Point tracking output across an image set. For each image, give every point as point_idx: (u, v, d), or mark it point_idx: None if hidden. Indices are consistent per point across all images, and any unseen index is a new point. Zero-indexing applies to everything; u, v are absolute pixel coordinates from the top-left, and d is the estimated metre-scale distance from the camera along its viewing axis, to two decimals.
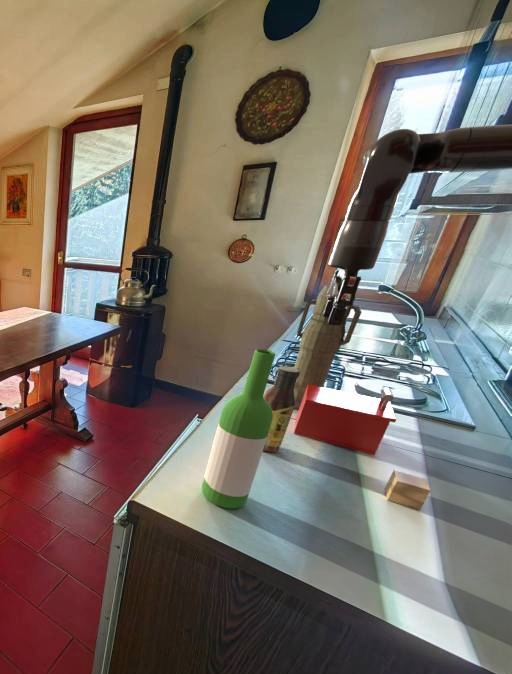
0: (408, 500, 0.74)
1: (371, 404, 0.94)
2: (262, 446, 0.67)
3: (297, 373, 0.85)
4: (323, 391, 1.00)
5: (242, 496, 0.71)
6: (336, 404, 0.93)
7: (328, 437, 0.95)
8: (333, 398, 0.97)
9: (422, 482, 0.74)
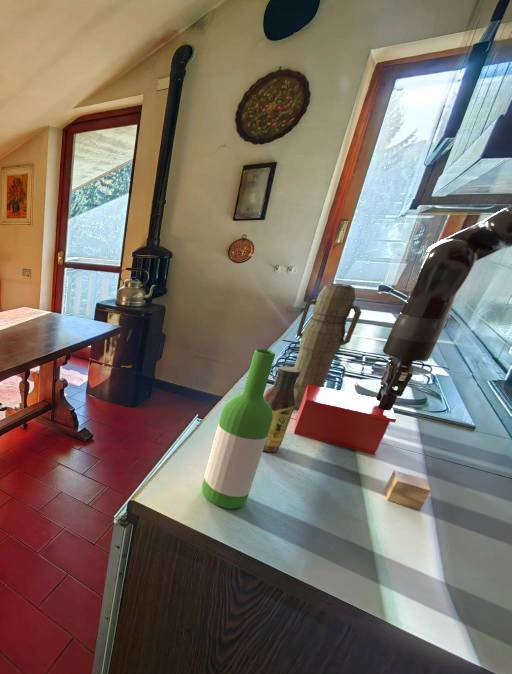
0: (408, 500, 0.74)
1: (371, 404, 0.94)
2: (262, 446, 0.67)
3: (297, 373, 0.85)
4: (323, 391, 1.00)
5: (242, 496, 0.71)
6: (336, 404, 0.93)
7: (328, 437, 0.95)
8: (333, 398, 0.97)
9: (422, 482, 0.74)
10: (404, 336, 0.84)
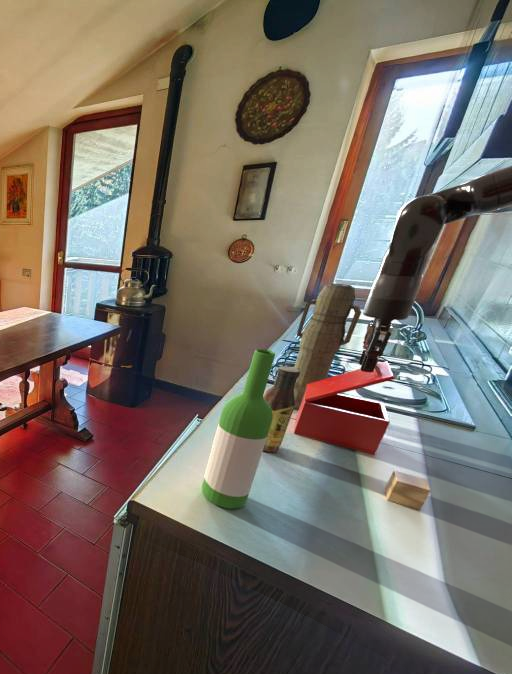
0: (408, 500, 0.74)
1: (368, 373, 0.92)
2: (262, 446, 0.67)
3: (297, 373, 0.85)
4: (321, 383, 1.00)
5: (242, 496, 0.71)
6: (334, 389, 0.93)
7: (328, 437, 0.95)
8: (331, 385, 0.96)
9: (422, 482, 0.74)
10: (382, 295, 0.84)
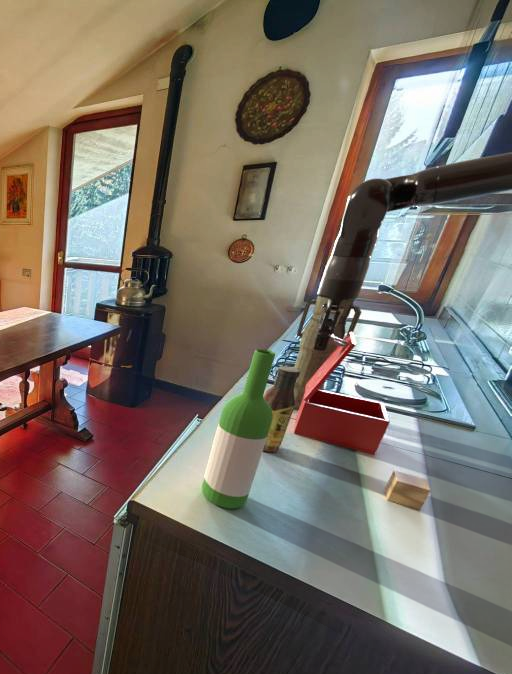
0: (408, 500, 0.74)
1: (339, 350, 0.94)
2: (262, 446, 0.67)
3: (297, 373, 0.85)
4: (313, 378, 1.01)
5: (242, 496, 0.71)
6: (320, 379, 0.94)
7: (328, 437, 0.95)
8: (319, 375, 0.97)
9: (422, 482, 0.74)
10: (333, 276, 0.88)
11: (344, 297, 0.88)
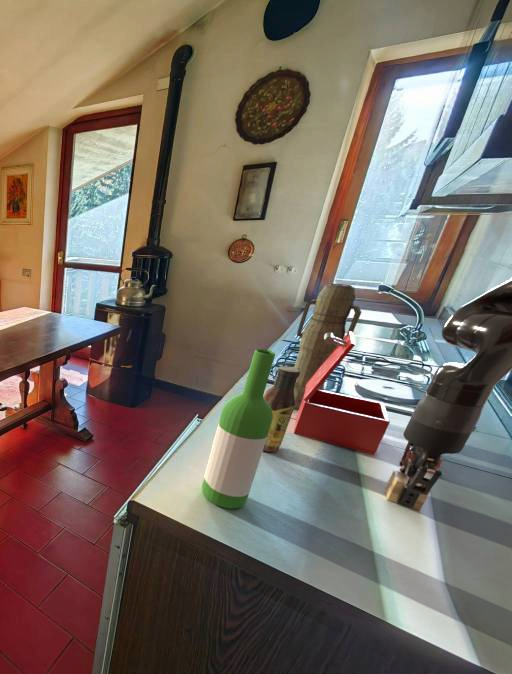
0: None
1: (339, 349, 0.94)
2: (262, 446, 0.67)
3: (297, 373, 0.85)
4: (313, 378, 1.01)
5: (242, 496, 0.71)
6: (320, 379, 0.94)
7: (328, 437, 0.95)
8: (319, 375, 0.97)
9: None
10: (431, 423, 0.68)
11: (445, 451, 0.68)
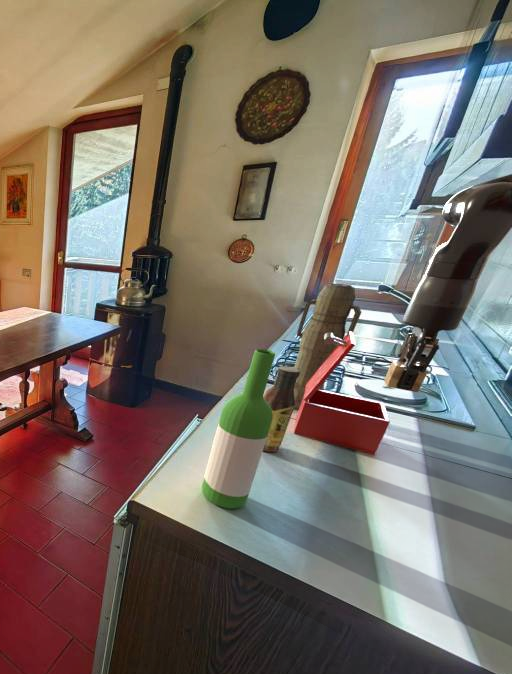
0: None
1: (339, 349, 0.94)
2: (262, 446, 0.67)
3: (297, 373, 0.85)
4: (313, 378, 1.01)
5: (242, 496, 0.71)
6: (320, 379, 0.94)
7: (328, 437, 0.95)
8: (319, 375, 0.97)
9: None
10: (429, 302, 0.72)
11: (442, 327, 0.72)
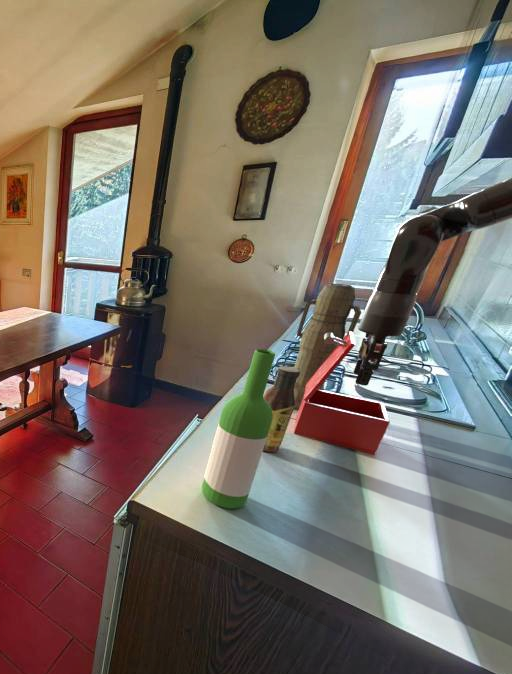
0: None
1: (339, 349, 0.94)
2: (262, 446, 0.67)
3: (297, 373, 0.85)
4: (313, 378, 1.01)
5: (242, 496, 0.71)
6: (320, 379, 0.94)
7: (328, 437, 0.95)
8: (319, 375, 0.97)
9: None
10: (377, 312, 0.85)
11: (388, 334, 0.85)
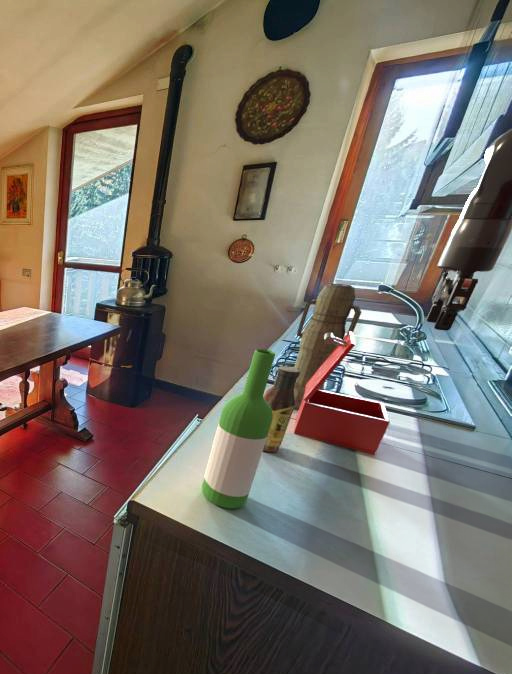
0: None
1: (339, 349, 0.94)
2: (262, 446, 0.67)
3: (297, 373, 0.85)
4: (313, 378, 1.01)
5: (242, 496, 0.71)
6: (320, 379, 0.94)
7: (328, 437, 0.95)
8: (319, 375, 0.97)
9: None
10: (465, 243, 0.74)
11: (478, 268, 0.74)
